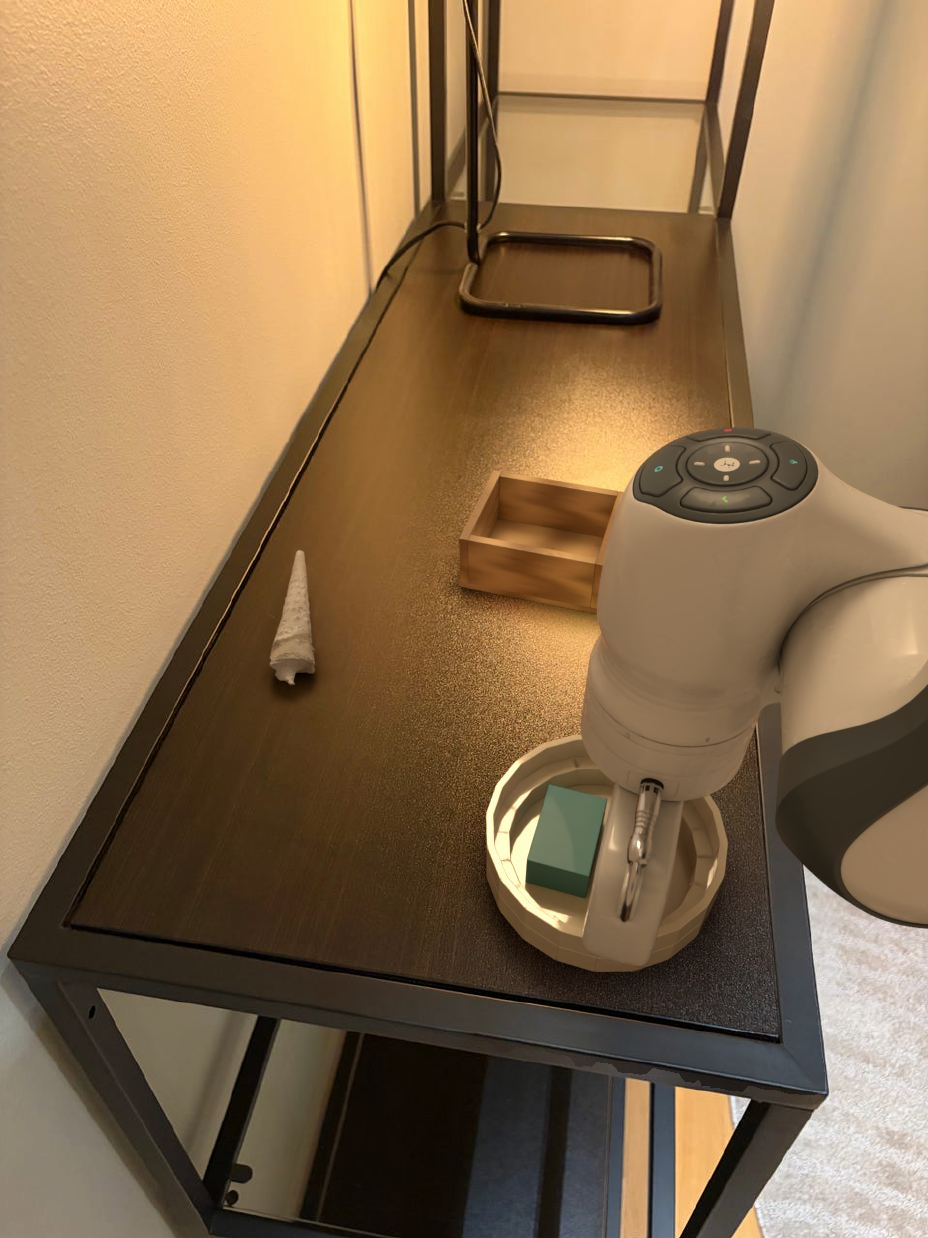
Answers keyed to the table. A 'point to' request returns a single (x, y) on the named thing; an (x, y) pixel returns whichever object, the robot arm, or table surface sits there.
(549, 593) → the holder
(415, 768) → the table surface
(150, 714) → the table surface
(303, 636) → the seashell
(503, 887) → the bowl
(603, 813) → the teal rectangular block
